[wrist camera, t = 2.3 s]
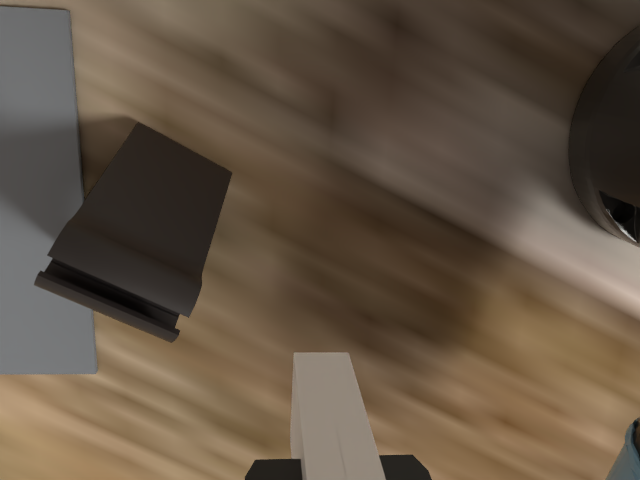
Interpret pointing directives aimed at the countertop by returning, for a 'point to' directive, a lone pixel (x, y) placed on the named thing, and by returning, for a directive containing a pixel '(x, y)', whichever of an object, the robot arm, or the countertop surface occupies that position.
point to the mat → (38, 193)
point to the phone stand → (141, 235)
